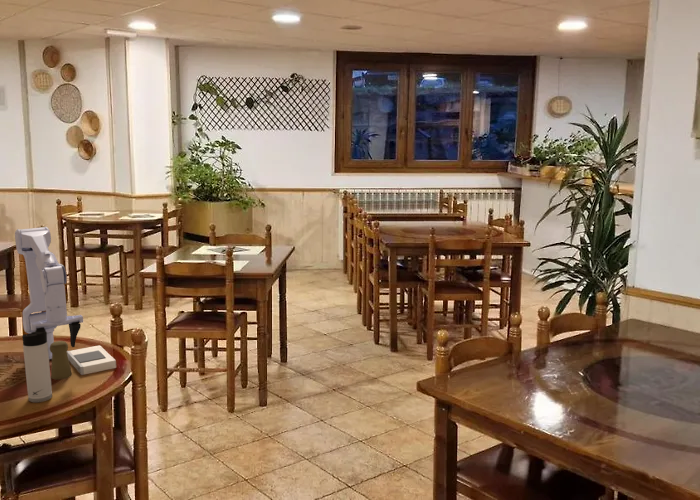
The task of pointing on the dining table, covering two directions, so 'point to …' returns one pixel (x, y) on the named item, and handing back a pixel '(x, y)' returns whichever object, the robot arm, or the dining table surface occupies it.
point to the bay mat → (89, 356)
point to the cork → (60, 360)
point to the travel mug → (37, 366)
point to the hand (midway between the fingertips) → (59, 348)
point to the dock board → (91, 365)
